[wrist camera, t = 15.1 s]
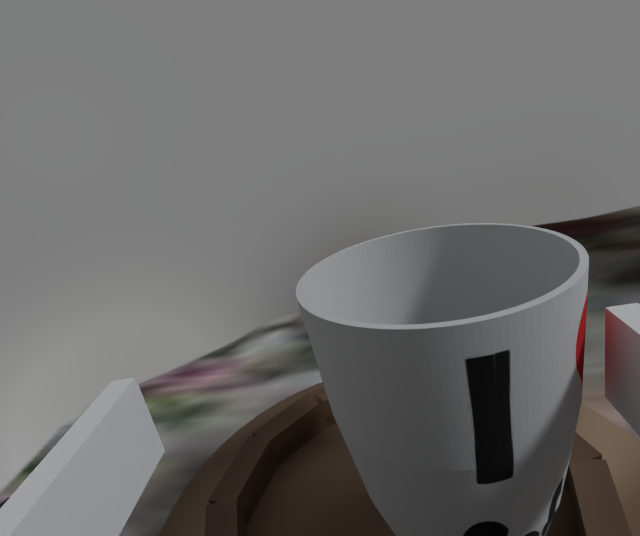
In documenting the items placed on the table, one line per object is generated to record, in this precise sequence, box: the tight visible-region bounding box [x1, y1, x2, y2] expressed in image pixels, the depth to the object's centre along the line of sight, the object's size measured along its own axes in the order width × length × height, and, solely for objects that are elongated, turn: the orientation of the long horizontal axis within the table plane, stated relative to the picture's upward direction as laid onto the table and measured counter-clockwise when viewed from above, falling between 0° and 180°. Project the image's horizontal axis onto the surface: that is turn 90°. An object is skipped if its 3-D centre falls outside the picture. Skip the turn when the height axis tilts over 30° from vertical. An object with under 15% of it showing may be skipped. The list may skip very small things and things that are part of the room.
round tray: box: [159, 382, 640, 536], centre depth 17 cm, size 20×20×2 cm
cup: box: [296, 223, 589, 536], centre depth 15 cm, size 8×8×10 cm
